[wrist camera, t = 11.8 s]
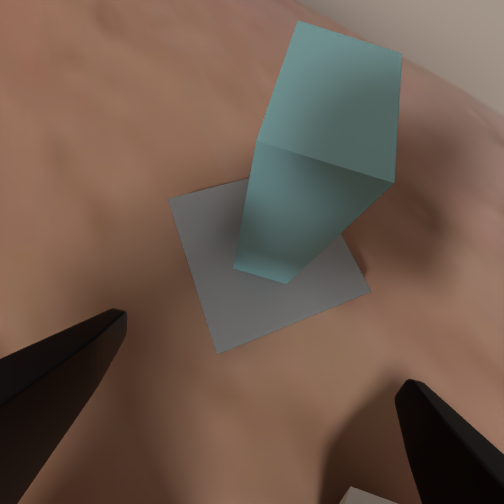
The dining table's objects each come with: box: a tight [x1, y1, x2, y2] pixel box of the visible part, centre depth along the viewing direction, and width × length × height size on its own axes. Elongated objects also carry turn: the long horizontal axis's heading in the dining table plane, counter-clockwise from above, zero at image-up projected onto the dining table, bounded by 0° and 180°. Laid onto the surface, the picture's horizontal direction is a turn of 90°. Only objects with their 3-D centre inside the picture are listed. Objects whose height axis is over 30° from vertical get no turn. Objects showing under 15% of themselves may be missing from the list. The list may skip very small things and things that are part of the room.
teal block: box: [233, 21, 402, 284], centre depth 14 cm, size 4×6×12 cm, turn 165°
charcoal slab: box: [168, 178, 371, 354], centre depth 21 cm, size 12×12×3 cm
